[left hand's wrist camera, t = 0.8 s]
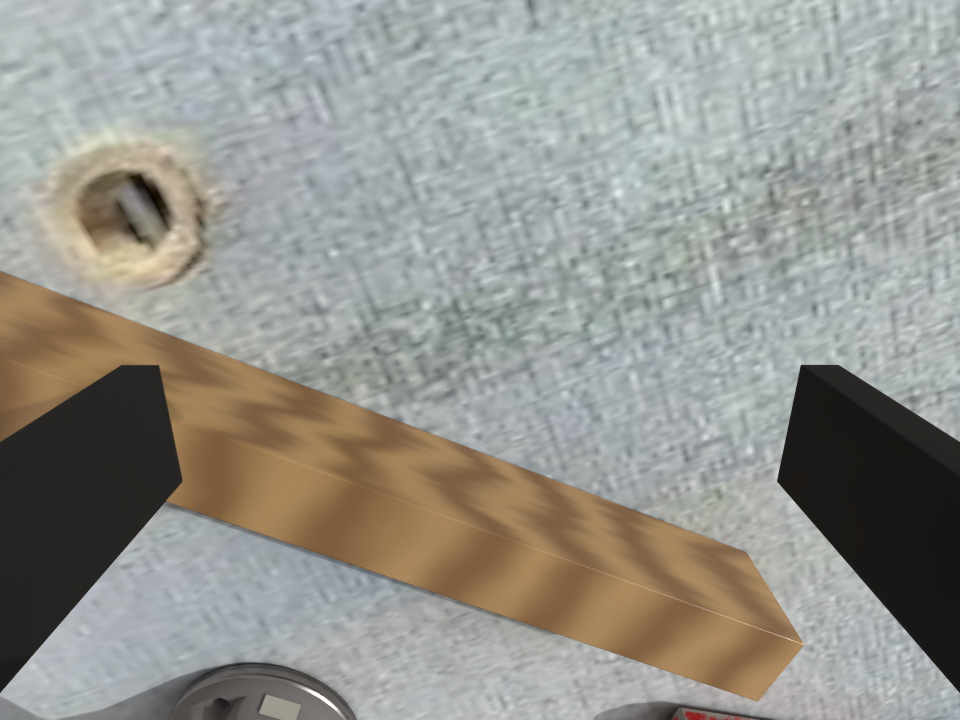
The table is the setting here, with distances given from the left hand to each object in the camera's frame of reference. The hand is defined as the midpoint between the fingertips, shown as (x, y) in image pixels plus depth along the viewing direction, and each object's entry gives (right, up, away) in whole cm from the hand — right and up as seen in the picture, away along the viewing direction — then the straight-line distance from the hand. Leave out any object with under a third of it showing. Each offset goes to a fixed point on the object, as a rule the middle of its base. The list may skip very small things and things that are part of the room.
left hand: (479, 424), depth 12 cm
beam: (-18, 0, +25) cm, 31 cm away
